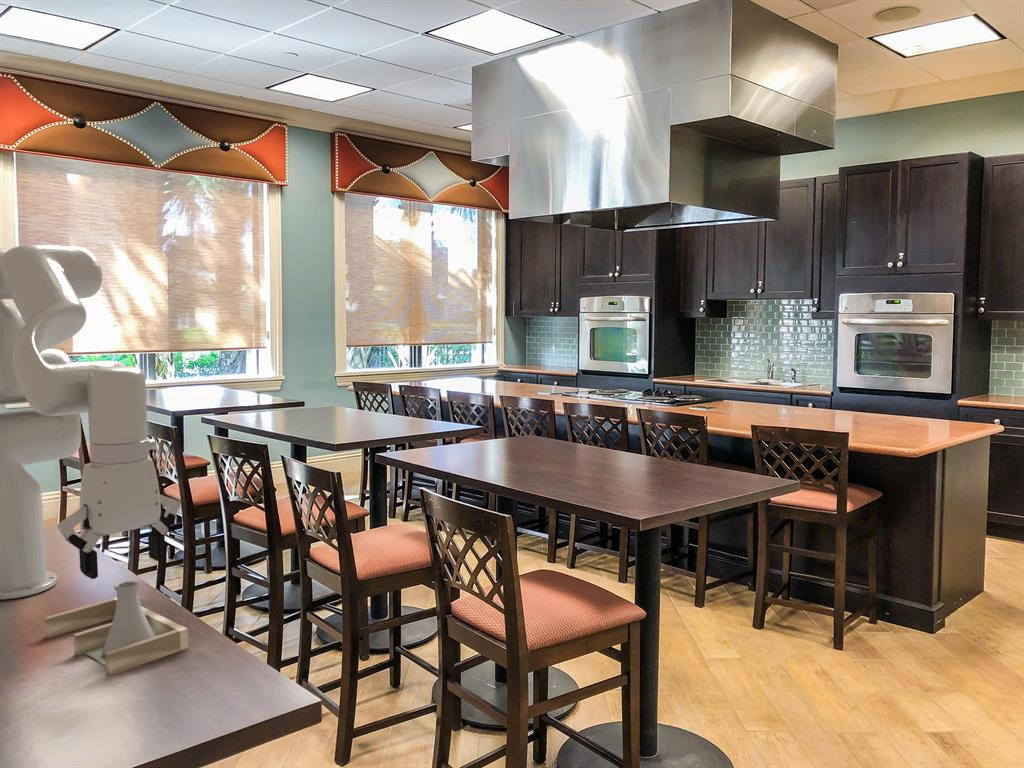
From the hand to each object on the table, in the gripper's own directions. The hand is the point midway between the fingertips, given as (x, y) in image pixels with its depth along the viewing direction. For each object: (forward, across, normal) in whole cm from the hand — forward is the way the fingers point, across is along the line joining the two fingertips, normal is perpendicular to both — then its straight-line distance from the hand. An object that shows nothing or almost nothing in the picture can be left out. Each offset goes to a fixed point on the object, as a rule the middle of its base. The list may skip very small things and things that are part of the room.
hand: (124, 567), depth 121 cm
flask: (+13, 0, +1) cm, 13 cm away
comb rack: (+13, 0, -4) cm, 13 cm away
